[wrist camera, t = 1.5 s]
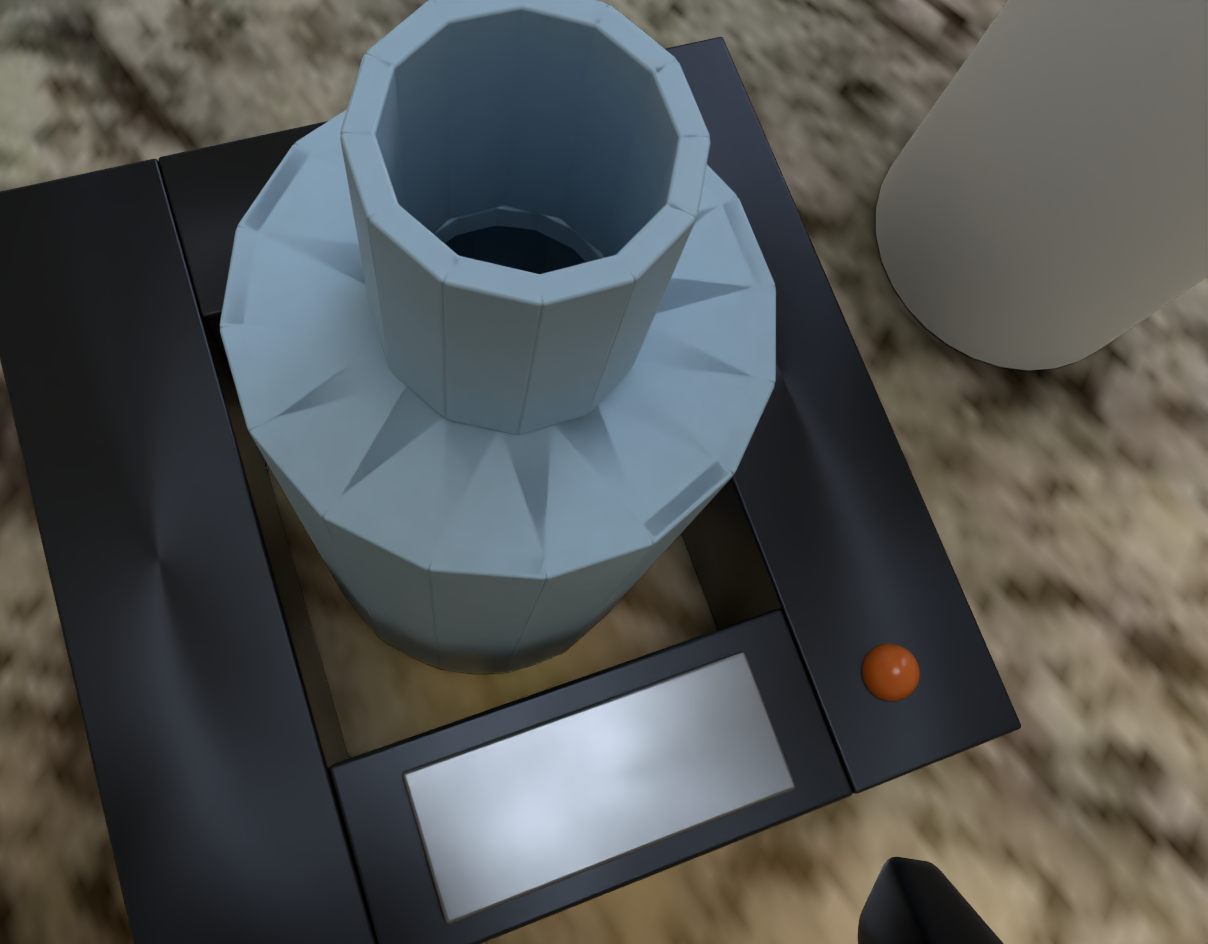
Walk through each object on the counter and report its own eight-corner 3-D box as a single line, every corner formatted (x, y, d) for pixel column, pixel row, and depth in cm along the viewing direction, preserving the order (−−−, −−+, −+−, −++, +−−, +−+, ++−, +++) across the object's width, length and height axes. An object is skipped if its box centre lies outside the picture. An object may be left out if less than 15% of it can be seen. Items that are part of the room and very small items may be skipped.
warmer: (917, 738, 23) (1041, 725, 18) (224, 1009, 20) (149, 1083, 15) (679, 156, 26) (729, 15, 22) (52, 306, 23) (-54, 179, 18)
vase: (675, 616, 23) (1002, 369, 9) (380, 718, 22) (251, 603, 8) (576, 348, 25) (733, -207, 11) (294, 426, 23) (60, -101, 9)
